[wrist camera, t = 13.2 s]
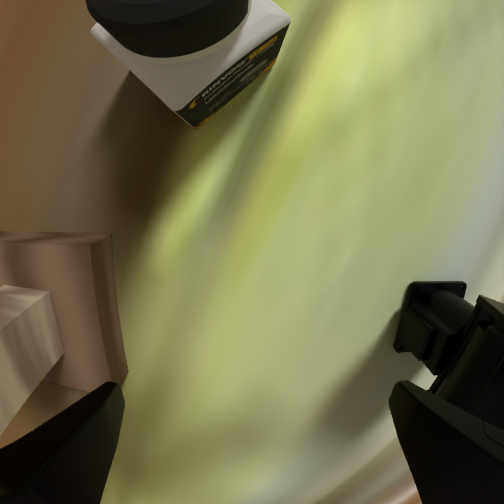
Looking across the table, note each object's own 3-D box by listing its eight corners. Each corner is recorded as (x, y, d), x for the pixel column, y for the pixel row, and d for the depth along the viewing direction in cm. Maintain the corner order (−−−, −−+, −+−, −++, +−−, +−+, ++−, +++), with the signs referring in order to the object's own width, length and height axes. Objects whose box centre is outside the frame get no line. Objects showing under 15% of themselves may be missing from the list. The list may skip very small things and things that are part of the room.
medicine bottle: (196, 131, 18) (138, 84, 7) (130, 67, 17) (35, -9, 5) (277, 63, 17) (320, -41, 6) (206, 3, 16) (183, -111, 4)
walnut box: (113, 232, 20) (89, 246, 17) (129, 368, 24) (116, 397, 20) (2, 230, 20) (-26, 241, 16) (27, 347, 23) (7, 368, 19)
